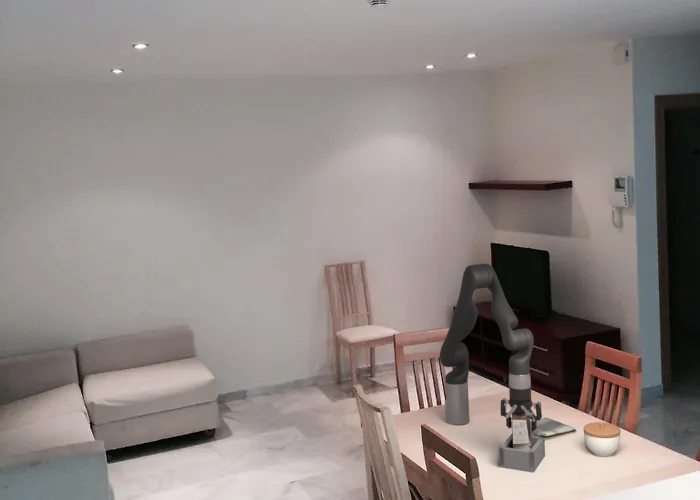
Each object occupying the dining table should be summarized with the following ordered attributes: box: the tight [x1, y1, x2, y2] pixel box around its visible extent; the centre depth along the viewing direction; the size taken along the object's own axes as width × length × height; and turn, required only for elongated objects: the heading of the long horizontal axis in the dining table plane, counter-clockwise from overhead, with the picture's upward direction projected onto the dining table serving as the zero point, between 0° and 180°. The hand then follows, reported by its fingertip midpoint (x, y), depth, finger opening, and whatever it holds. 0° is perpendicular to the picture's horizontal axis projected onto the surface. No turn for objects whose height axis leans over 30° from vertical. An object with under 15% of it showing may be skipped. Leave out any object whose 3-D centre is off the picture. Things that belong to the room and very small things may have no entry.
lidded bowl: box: [583, 421, 621, 457], centre depth 256 cm, size 13×13×11 cm
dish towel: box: [530, 417, 577, 441], centre depth 281 cm, size 19×18×3 cm
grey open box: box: [498, 433, 546, 473], centre depth 253 cm, size 12×15×7 cm
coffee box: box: [511, 412, 531, 451], centre depth 252 cm, size 9×6×16 cm
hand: (521, 429), depth 252 cm, fingers open, 8 cm apart
